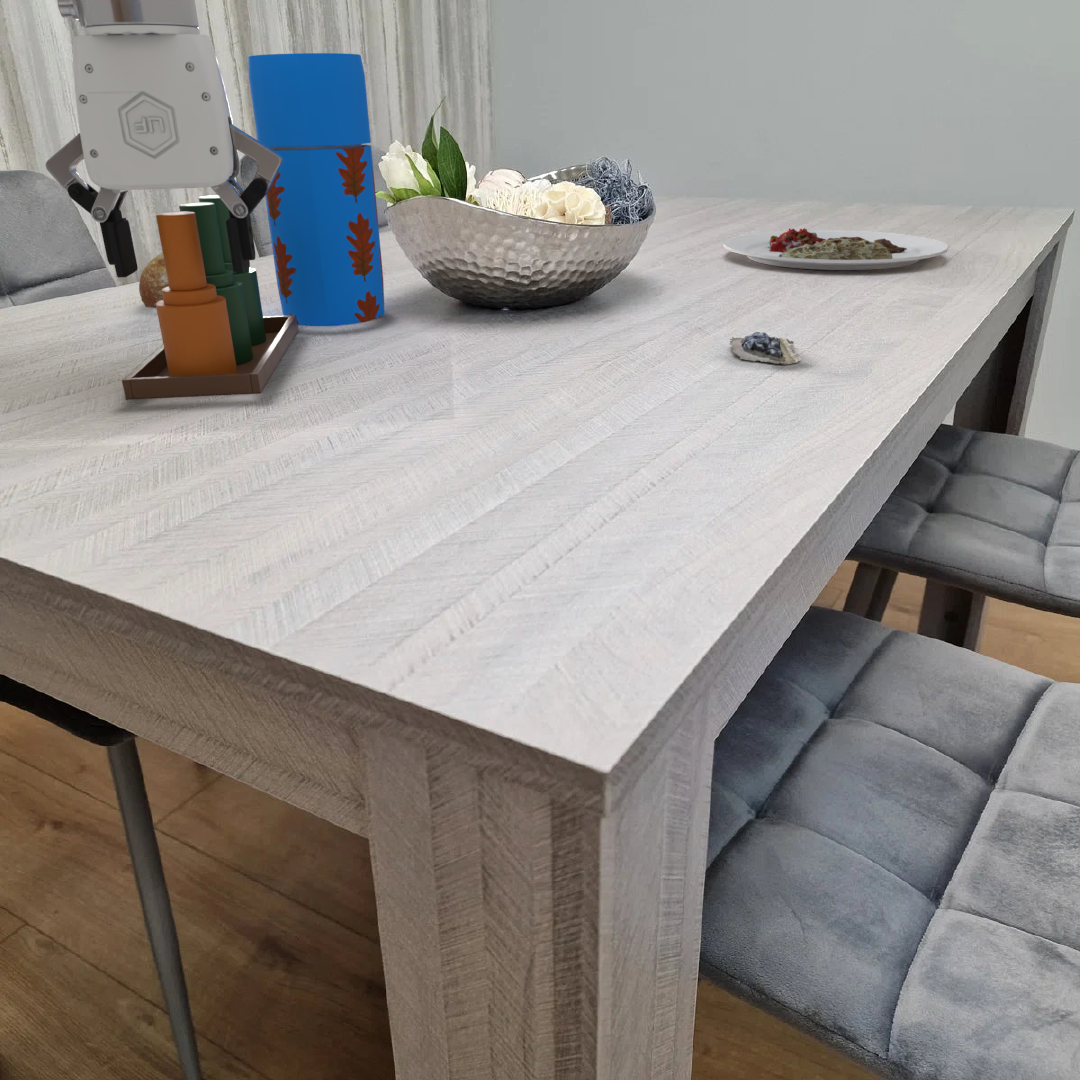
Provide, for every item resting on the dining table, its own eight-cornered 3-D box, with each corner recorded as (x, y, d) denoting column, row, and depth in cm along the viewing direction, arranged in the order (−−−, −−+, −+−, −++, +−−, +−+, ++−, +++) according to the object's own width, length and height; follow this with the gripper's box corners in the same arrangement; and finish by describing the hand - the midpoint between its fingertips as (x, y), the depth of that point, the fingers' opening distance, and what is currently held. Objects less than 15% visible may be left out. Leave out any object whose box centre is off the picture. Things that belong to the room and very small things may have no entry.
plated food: (924, 281, 113) (928, 252, 111) (690, 266, 127) (692, 240, 125) (961, 248, 136) (965, 224, 135) (760, 238, 150) (762, 216, 149)
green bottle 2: (203, 349, 86) (177, 200, 81) (215, 337, 91) (191, 194, 85) (261, 347, 87) (239, 198, 81) (270, 334, 91) (250, 193, 86)
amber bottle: (163, 392, 74) (129, 218, 68) (180, 374, 78) (149, 210, 73) (231, 389, 74) (203, 216, 68) (243, 371, 79) (217, 208, 73)
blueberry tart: (778, 340, 87) (780, 320, 87) (826, 360, 80) (829, 339, 80) (712, 347, 86) (714, 326, 85) (756, 368, 79) (758, 346, 78)
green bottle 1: (185, 369, 80) (155, 208, 74) (199, 354, 85) (172, 202, 79) (247, 366, 80) (222, 206, 75) (258, 351, 85) (235, 200, 79)
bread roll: (174, 326, 115) (132, 267, 112) (246, 286, 115) (207, 225, 111) (159, 344, 106) (114, 281, 103) (237, 301, 106) (194, 236, 102)
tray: (127, 406, 72) (121, 380, 71) (194, 340, 92) (190, 319, 91) (261, 400, 73) (257, 374, 72) (299, 336, 93) (296, 315, 92)
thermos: (263, 321, 100) (225, 58, 89) (347, 306, 106) (321, 59, 96) (321, 336, 93) (286, 52, 82) (407, 318, 99) (385, 54, 89)
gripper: (-15, 10, 61) (50, 285, 68) (258, 7, 62) (293, 276, 70) (30, 20, 68) (85, 268, 75) (276, 16, 69) (305, 261, 77)
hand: (185, 271), depth 72 cm, fingers open, 8 cm apart
